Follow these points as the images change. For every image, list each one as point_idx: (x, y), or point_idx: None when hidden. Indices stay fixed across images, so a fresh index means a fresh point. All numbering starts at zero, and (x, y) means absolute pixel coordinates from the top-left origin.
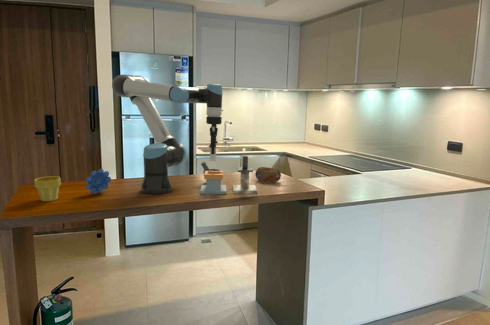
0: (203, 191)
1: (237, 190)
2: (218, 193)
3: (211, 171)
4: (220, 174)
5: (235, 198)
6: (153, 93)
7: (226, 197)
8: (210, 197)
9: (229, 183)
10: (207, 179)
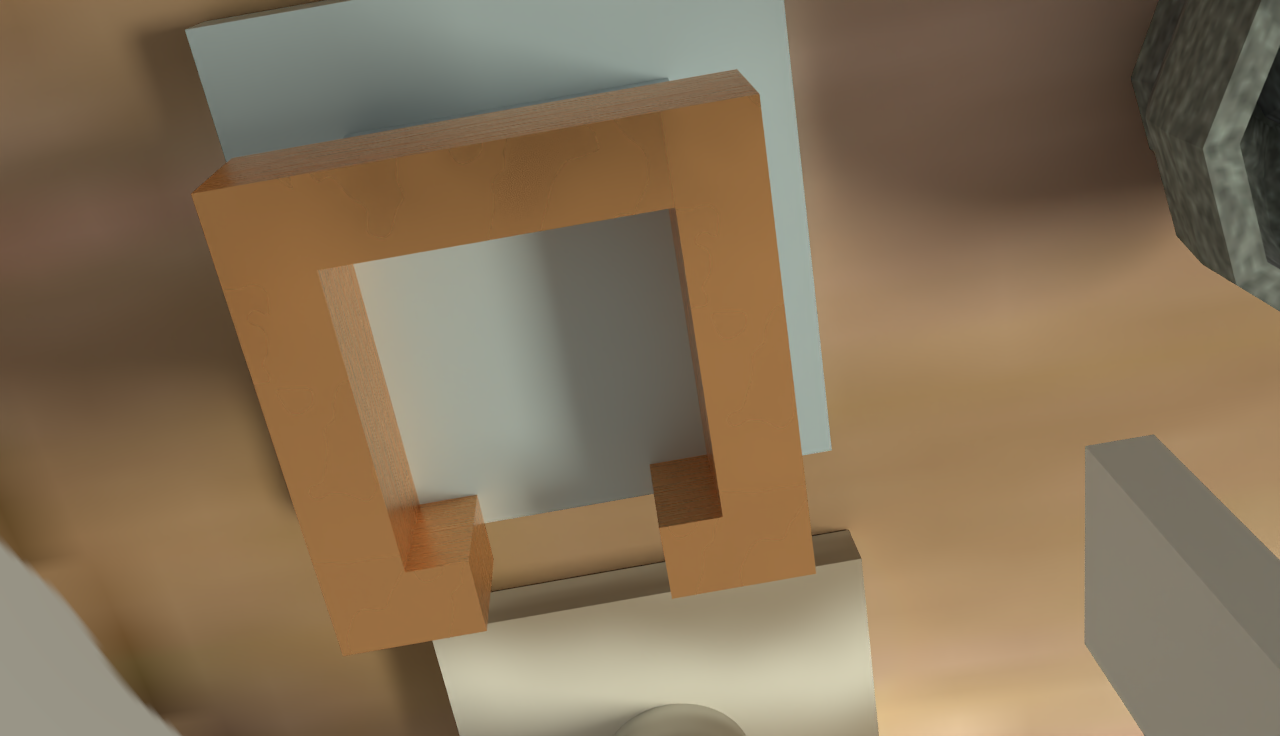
0: (211, 103)
1: (449, 692)
2: None
3: (689, 306)
4: (344, 604)
5: (134, 675)
6: None
7: (142, 541)
8: (34, 282)
9: (1171, 425)
10: None
